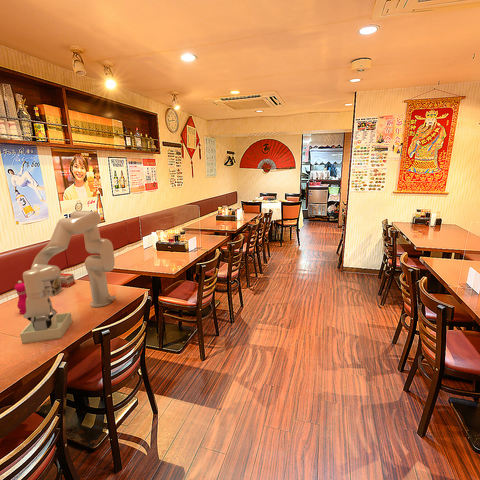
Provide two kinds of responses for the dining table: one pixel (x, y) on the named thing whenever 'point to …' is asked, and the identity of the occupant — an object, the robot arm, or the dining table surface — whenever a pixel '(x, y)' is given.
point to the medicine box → (66, 280)
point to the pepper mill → (21, 297)
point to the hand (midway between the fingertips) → (43, 327)
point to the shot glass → (53, 321)
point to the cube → (40, 324)
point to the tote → (50, 334)
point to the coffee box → (53, 286)
